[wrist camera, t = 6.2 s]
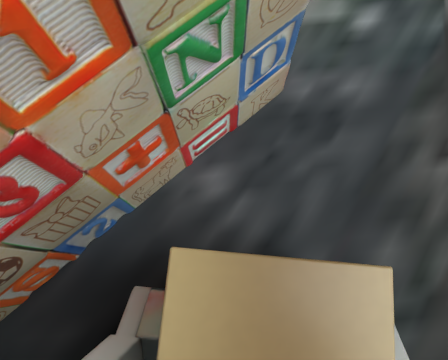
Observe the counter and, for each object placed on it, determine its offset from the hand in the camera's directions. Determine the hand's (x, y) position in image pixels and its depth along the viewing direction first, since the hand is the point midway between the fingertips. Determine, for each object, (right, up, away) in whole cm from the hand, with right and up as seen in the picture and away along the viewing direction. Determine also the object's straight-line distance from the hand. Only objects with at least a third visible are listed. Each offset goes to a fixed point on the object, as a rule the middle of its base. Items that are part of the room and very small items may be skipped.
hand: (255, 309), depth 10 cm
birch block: (0, -2, +5) cm, 5 cm away
